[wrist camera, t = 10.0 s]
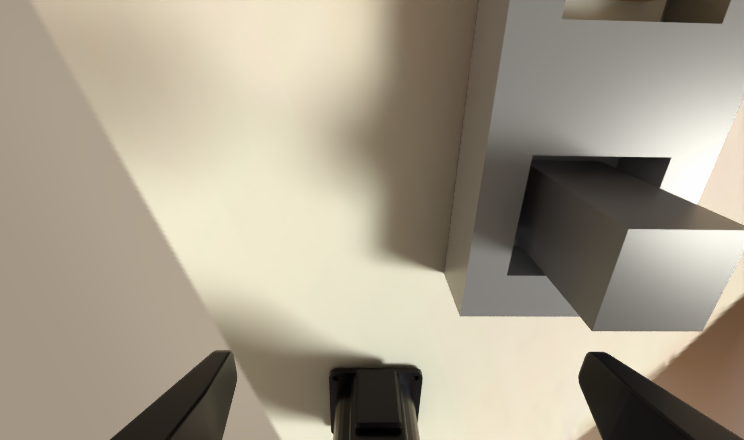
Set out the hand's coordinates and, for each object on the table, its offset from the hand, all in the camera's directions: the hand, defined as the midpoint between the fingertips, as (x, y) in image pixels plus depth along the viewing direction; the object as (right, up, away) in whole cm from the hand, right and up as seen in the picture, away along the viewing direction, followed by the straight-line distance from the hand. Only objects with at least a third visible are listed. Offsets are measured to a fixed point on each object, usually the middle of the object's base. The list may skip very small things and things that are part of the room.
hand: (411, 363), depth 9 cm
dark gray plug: (+9, +5, +10) cm, 14 cm away
